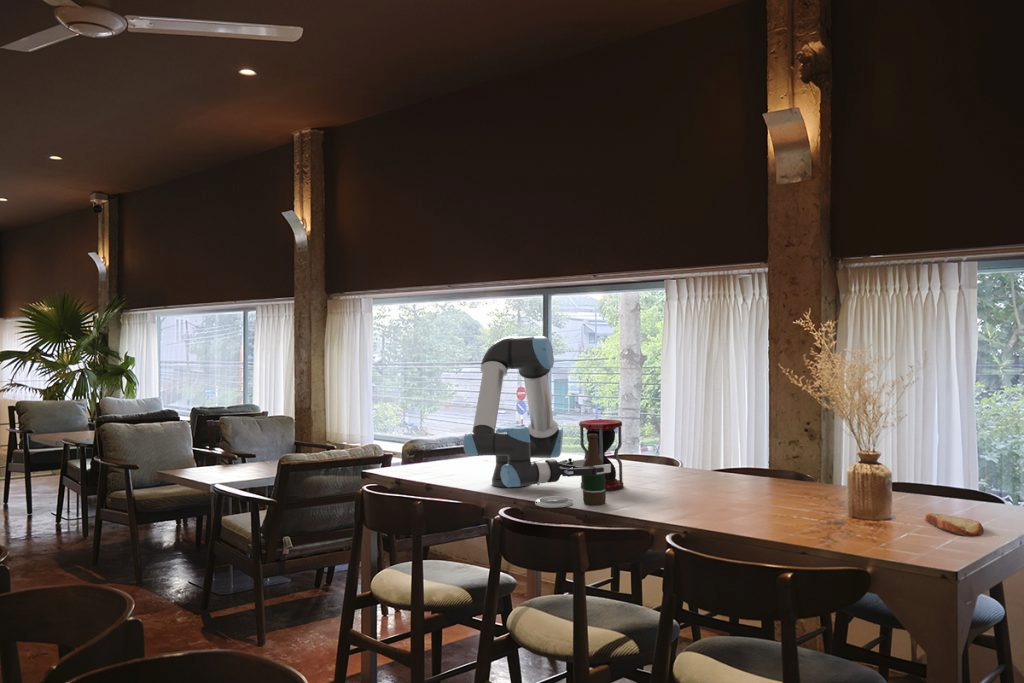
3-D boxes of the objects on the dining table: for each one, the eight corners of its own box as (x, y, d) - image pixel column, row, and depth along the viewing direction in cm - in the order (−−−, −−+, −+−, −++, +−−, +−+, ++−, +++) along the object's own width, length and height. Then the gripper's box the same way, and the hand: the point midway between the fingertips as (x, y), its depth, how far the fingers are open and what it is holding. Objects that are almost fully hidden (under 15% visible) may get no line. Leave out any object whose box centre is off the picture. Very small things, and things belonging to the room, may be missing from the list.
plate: (535, 499, 292) (535, 496, 292) (572, 499, 291) (572, 495, 291) (534, 508, 279) (534, 503, 279) (573, 507, 278) (572, 503, 278)
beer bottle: (604, 505, 280) (603, 435, 279) (581, 505, 281) (580, 435, 281) (606, 501, 287) (605, 432, 287) (584, 500, 289) (582, 432, 289)
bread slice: (927, 518, 253) (927, 506, 253) (993, 526, 241) (993, 514, 241) (908, 529, 240) (908, 517, 240) (977, 539, 228) (977, 526, 228)
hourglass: (580, 491, 305) (578, 424, 304) (581, 483, 321) (579, 419, 320) (624, 491, 303) (622, 423, 303) (622, 482, 319) (621, 418, 319)
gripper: (528, 476, 287) (580, 470, 296) (564, 488, 264) (619, 481, 274) (528, 455, 287) (580, 450, 296) (563, 465, 264) (619, 459, 274)
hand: (599, 465), depth 285 cm, fingers open, 13 cm apart
